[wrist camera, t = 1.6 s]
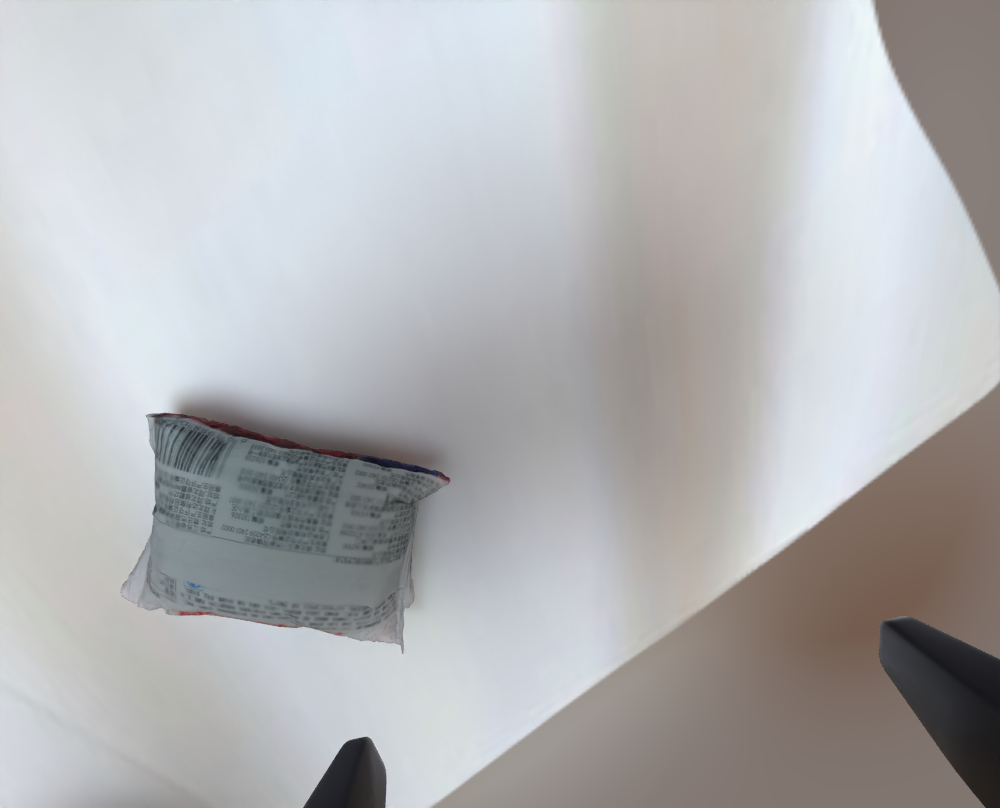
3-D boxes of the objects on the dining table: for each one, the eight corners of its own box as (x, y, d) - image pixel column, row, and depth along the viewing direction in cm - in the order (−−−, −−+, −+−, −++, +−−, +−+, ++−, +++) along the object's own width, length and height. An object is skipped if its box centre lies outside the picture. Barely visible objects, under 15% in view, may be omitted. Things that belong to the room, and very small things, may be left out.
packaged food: (406, 612, 24) (396, 696, 19) (147, 567, 22) (63, 651, 17) (452, 452, 22) (454, 501, 17) (172, 386, 20) (85, 422, 15)
